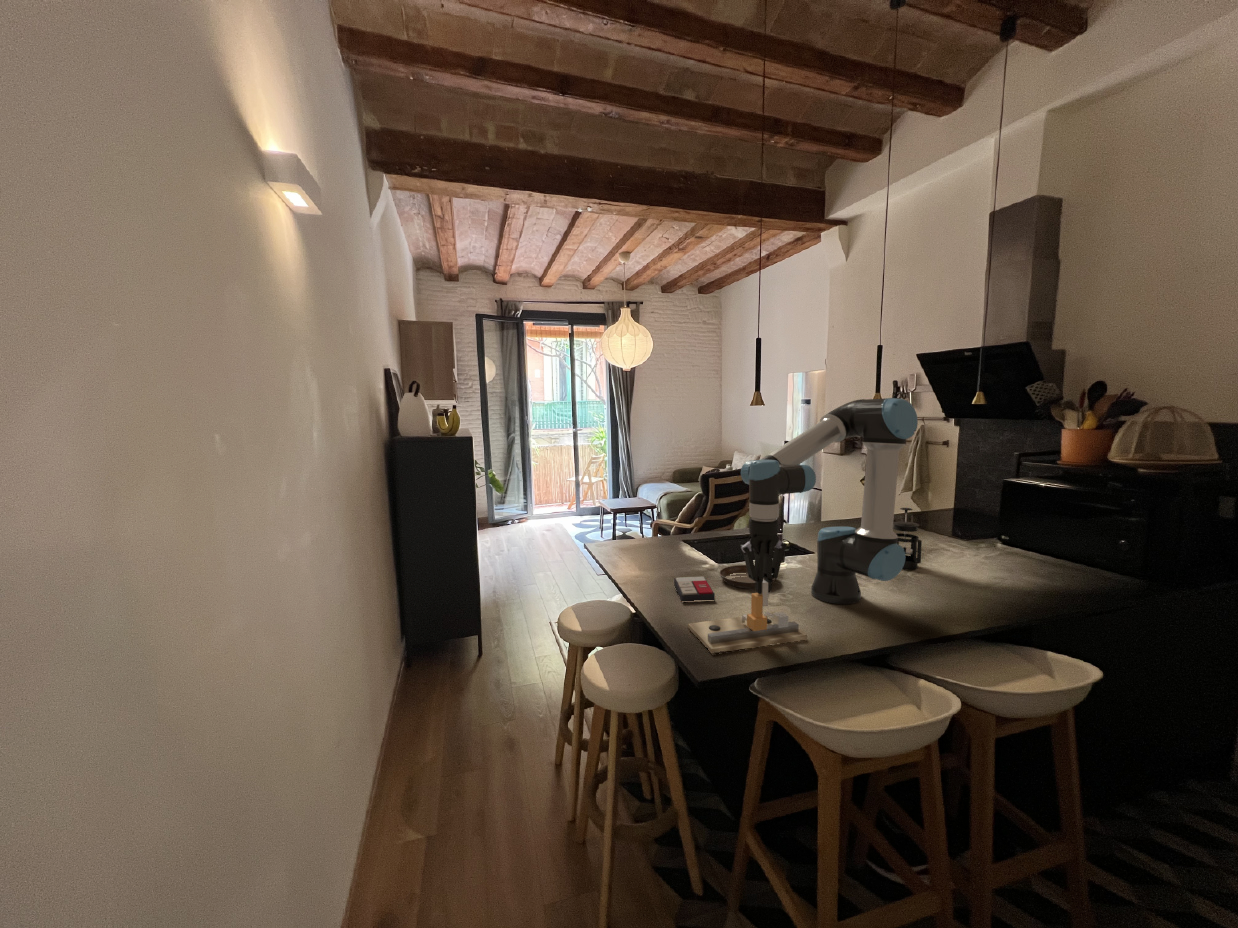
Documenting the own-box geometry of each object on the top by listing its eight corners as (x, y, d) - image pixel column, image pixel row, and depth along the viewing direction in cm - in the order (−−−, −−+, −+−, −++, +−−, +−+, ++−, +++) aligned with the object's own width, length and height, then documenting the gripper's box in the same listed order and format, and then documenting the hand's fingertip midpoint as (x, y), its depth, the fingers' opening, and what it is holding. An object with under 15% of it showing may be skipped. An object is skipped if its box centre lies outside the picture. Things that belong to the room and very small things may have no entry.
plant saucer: (708, 576, 189) (708, 568, 189) (755, 569, 196) (755, 561, 196) (740, 595, 170) (740, 585, 169) (790, 586, 177) (790, 577, 177)
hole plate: (774, 616, 151) (775, 611, 151) (807, 640, 136) (807, 634, 135) (687, 628, 144) (687, 623, 144) (711, 654, 129) (711, 648, 129)
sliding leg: (748, 620, 144) (749, 583, 143) (766, 635, 134) (767, 596, 133) (736, 622, 143) (736, 585, 142) (753, 636, 133) (753, 597, 132)
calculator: (681, 593, 163) (673, 576, 178) (681, 605, 164) (674, 587, 179) (715, 592, 164) (704, 574, 178) (714, 604, 164) (704, 586, 179)
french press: (883, 563, 199) (885, 506, 196) (901, 560, 202) (903, 504, 199) (909, 572, 188) (912, 512, 185) (927, 569, 191) (930, 509, 188)
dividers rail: (780, 618, 146) (780, 601, 146) (799, 632, 137) (799, 614, 137) (697, 629, 140) (697, 612, 140) (711, 645, 131) (711, 626, 130)
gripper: (777, 513, 138) (776, 596, 140) (734, 517, 135) (734, 602, 137) (793, 519, 131) (792, 606, 133) (748, 523, 127) (747, 612, 130)
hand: (762, 604), depth 135 cm, fingers closed
